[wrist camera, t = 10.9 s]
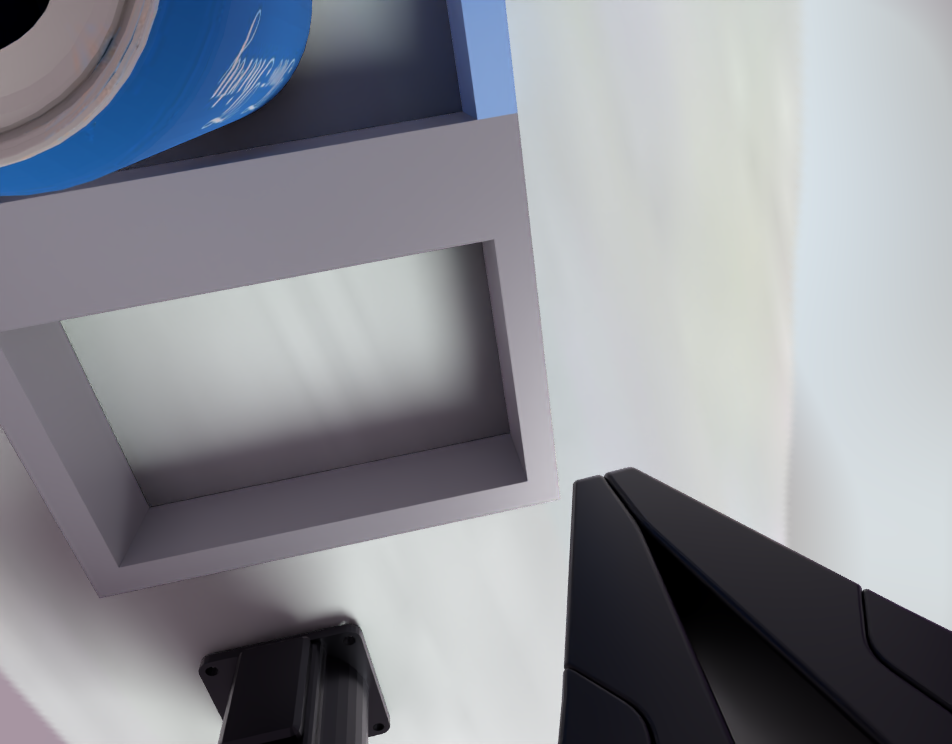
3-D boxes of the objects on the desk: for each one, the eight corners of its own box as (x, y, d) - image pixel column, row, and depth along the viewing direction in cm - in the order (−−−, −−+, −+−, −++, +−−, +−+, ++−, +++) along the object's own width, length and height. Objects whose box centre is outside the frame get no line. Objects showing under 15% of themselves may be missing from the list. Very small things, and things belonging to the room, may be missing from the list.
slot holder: (545, 449, 24) (574, 517, 20) (125, 536, 23) (80, 624, 19) (451, -325, 14) (477, -454, 11) (-269, -230, 13) (-504, -337, 10)
